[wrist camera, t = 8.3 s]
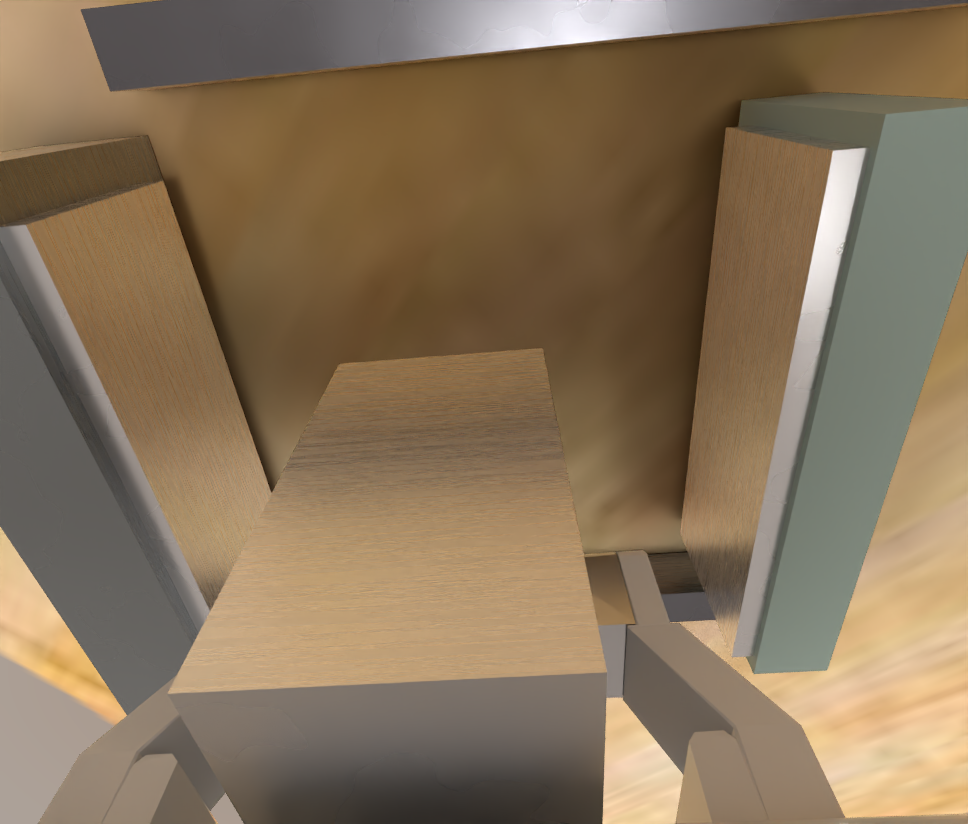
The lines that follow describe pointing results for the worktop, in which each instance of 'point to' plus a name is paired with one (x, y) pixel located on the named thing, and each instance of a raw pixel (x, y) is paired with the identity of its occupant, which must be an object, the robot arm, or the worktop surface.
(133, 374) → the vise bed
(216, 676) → the steel block
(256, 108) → the worktop surface
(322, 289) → the worktop surface
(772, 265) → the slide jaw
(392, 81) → the worktop surface
